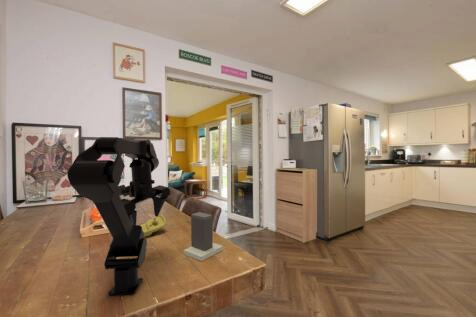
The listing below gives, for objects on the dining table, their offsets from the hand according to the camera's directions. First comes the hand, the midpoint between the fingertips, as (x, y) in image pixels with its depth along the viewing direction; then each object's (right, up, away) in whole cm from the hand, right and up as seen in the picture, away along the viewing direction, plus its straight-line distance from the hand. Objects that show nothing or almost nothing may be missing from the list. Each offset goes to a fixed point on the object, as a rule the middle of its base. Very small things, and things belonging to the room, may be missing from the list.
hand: (145, 221), depth 73 cm
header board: (+19, -13, +6) cm, 24 cm away
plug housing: (+18, -11, +6) cm, 22 cm away
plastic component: (-12, -13, +24) cm, 29 cm away
